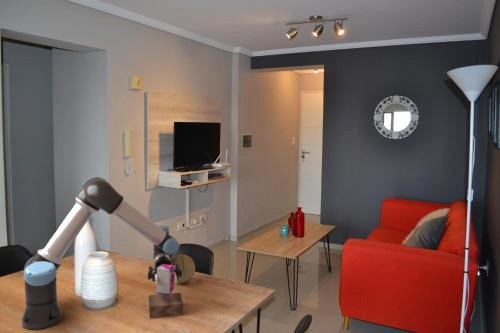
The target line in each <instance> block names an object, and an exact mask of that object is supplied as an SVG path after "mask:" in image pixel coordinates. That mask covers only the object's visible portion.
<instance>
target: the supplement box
mask: <svg viewBox="0 0 500 333" xmlns="http://www.w3.org/2000/svg"><path fill="white" fill-rule="evenodd" d="M157 285H158V286H156V295H160V294H166V295H169V294H170V293H172V292H173V291H174V290H175V289H174V285H175V282H174V265H166V264H162V265H161V266H159V267H158V268H157Z"/></svg>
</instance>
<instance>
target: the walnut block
mask: <svg viewBox="0 0 500 333" xmlns="http://www.w3.org/2000/svg"><path fill="white" fill-rule="evenodd" d="M148 310H149V311H148V313H149V319H157V318H165V317H175V316H182V315H184V302H183V298H182V294H181V292H174V293H172V292H171V293H170V294H169V295H166V294H151V295H148Z"/></svg>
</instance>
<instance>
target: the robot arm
mask: <svg viewBox="0 0 500 333" xmlns="http://www.w3.org/2000/svg"><path fill="white" fill-rule="evenodd" d="M100 210H101V211H104V212H105V213H106V214H108V215H111V216H114V217H116V218H118V219H119V220H120V221H122V222H123V223H125V224H126V225H127V226H129V227H130V228H132V229H133V230H134V231H135V232H136V233H138V234H140V235H141V236H142V237H143V238H144V239H147V240H148V241H149V242H151V243H152V244H153V257H152V258H153V260H154V267H153V266H148V272H147V280H152V282H155V286H156V287H157V286H158V285H157V268H158V267H159V266H161V265H162V264H166V265H171V261H170V259H171V258H170V256H171V255H176V254H177V252H178V251H179V250H180V242H179V241H178V240H177V239H176V238H174V237H173V236H172V235H170V230H169V226H167V225H157V224H156V223H155V222H153V221H152V220H151V219H149V218H148V217H146V215H144V214H143V213H141V211H139V210H137V209H136V208H135V207H133V206H132V205H131V204H130V203H129V202H127V201H126V200H125V197H124V196H123V195H122V194H120V193H119V192H118V191H117V190H116V189H115V188H114V186H113V185H112V184H111V183H109V181H107V180H106V179H105V178H103V177H99V176H92V177H90V178H87V179H85V181H84V182H83V183H82V185H81V189H80V191H79V192H78V194H77V195H76V196H75V204H74V206H73V207H72V208H71V209H70V211H69V213H68V214H66V216H65V218H64V219H63V221H62V222H61V223H60V225H59V226H58V228H57V230H56V231H55V232H54V233H53V235H52V236H51V238H50V239H49V240H48V242H47V243H46V245H45V246H44V248H41V249H38V250H37V251H36V253H35V254H34V255H33V256H32V257H31V258H29V259H28V260H27V262H26V264H25V265H24V268H23V279H24V295H25V297H24V298H25V299H24V300H25V307H24V310H23V313H22V317H21V326H22V328H24V329H27V330H41V329H46V328H50V327H52V326H55V325H57V324H59V322H61V321H62V320H63V311H62V308H61V306H60V304H59V301H58V289H57V288H58V287H57V273H58V272H57V271H58V270H59V269H60V268H61V266H62V265H63V261H62V260H63V259H62V258H63V256H64V255H65V253H66V252H67V250H68V249H69V248H70V247H71V246H72V244H73V242H74V241H75V240H76V238H77V236H78V235H79V234H80V232H81V231H82V230H83V228H84V226H85V225H86V223H87V222H88V220H89V219H90V218H91V217H92V215H93V214H94V213H97V212H99V211H100ZM174 269H175V270H174V281H175V282H174V285H177V284H178V283H177V279H179V277H182V271H181V269H180V268H179V267H178V264H176V265H175V266H174Z"/></svg>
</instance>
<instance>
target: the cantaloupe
mask: <svg viewBox="0 0 500 333" xmlns="http://www.w3.org/2000/svg"><path fill="white" fill-rule="evenodd" d="M170 261H171V265H174V266H175V265H176V264H178V267H179V268H180V269H181V271H182V277H179V279H177V284H178V285H179V284H180V285H183V284H185V283H188V282H190V281H191V280H192V279H193V277H194V276H195V274H196V266H195V261H194V260H193V259H192V257H191V256H189V255H186V254H181V253H180V252H178V253H176V255H174V256H172V257H171V258H170ZM174 270H175V269H174ZM174 283H175V281H174Z"/></svg>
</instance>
